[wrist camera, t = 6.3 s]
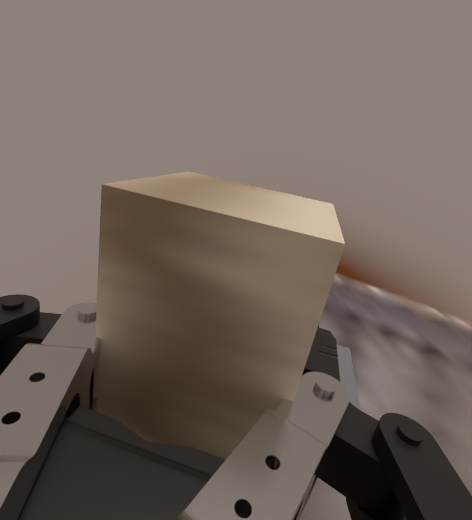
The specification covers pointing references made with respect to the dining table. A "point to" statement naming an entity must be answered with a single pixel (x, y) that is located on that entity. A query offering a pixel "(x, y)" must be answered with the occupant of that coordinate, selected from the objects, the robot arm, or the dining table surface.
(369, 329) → the dining table surface
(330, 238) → the letter block
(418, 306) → the dining table surface
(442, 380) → the dining table surface
